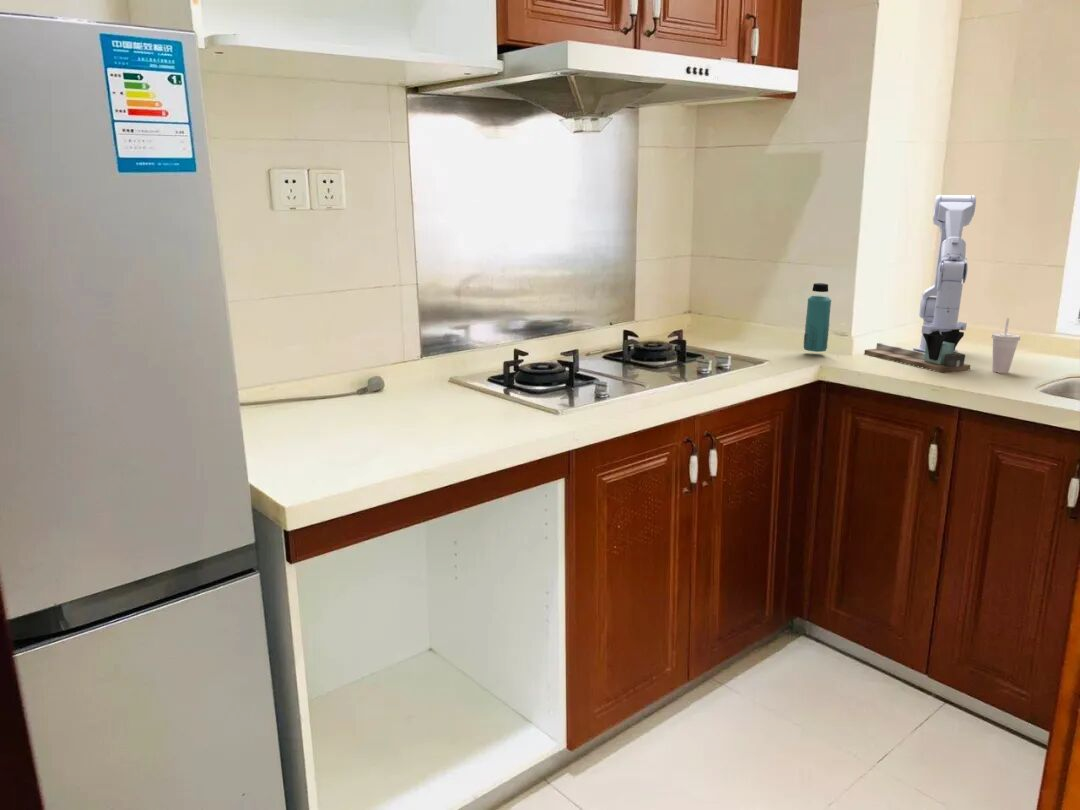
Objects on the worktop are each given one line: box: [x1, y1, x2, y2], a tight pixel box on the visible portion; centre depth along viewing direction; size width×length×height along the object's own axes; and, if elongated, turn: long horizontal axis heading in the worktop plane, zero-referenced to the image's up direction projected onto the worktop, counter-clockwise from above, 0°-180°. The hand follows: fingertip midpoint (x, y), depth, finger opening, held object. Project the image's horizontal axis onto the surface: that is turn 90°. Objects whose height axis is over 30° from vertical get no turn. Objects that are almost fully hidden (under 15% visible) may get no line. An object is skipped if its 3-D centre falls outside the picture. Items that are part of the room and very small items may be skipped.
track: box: [863, 342, 972, 374], centre depth 223 cm, size 26×10×4 cm, turn 26°
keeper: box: [924, 341, 955, 364], centre depth 217 cm, size 5×4×5 cm
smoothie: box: [991, 317, 1021, 374], centre depth 211 cm, size 6×6×14 cm
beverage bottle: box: [803, 282, 832, 353], centre depth 229 cm, size 6×7×20 cm
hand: (939, 358), depth 217 cm, fingers closed on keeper, 4 cm apart
